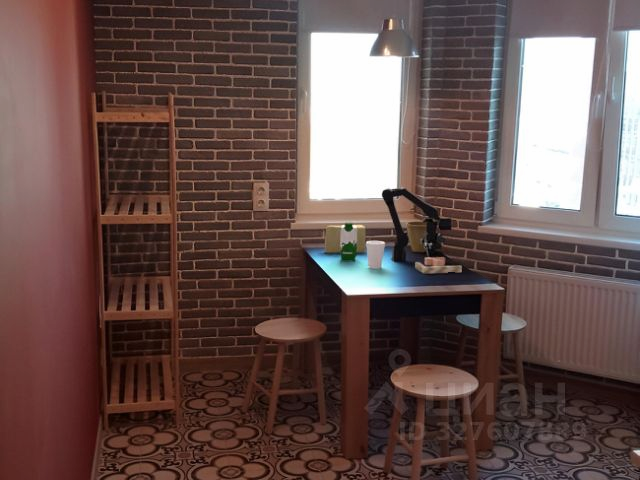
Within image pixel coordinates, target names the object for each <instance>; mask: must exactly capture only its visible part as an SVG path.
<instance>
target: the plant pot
mask: <svg viewBox="0 0 640 480" xmlns="http://www.w3.org/2000/svg"><path fill="white" fill-rule="evenodd" d="M406 231H407V235H408V237H409V240H408V242H409V244H410V247H411V251H412V252H413V253H414V252H415V253H425V252H426V250H425V248H424V246H423V245H425V243H423V244H421V243H420V239H421V238H426V234H425V232H426V222H423V220H418V221H417V220H416V221H415V220H414V221H408V222H406Z"/></svg>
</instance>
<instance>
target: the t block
mask: <svg viewBox="0 0 640 480" xmlns="http://www.w3.org/2000/svg"><path fill="white" fill-rule="evenodd" d="M424 266H446V257H444V256H435V257H433V256H432V257H428V256H427V257H424Z"/></svg>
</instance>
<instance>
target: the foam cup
mask: <svg viewBox="0 0 640 480" xmlns="http://www.w3.org/2000/svg"><path fill="white" fill-rule="evenodd" d="M385 247H386V242H385V241H381V240H367V241H365V248H366V255H367V264H368V268H369V269H372V270H373V269H374V270H376V269H377V270H378V269H381V268H382V264H383V259H384V251H385Z"/></svg>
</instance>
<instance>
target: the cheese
mask: <svg viewBox="0 0 640 480" xmlns="http://www.w3.org/2000/svg"><path fill="white" fill-rule="evenodd" d="M353 226H356V227H357V251H356V254H358V253H359V254H360V253H363V254H364V253H366V227H365V226H364V225H363V224H353ZM341 227H342V225H327V226H326V229H325V235H324V236H325V237H324V253H330V254H331V253H333V254H336V253H340V235H341ZM340 254H341V253H340Z"/></svg>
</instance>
